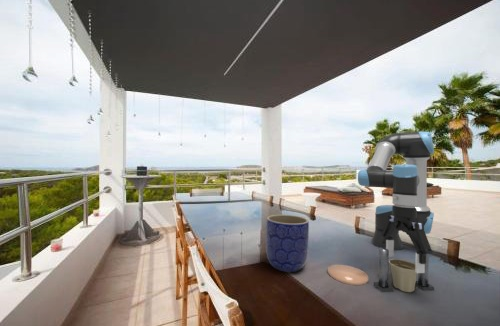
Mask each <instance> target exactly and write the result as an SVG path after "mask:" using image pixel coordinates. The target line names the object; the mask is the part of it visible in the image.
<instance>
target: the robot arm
mask: <svg viewBox="0 0 500 326" xmlns="http://www.w3.org/2000/svg"><path fill="white" fill-rule="evenodd" d="M433 143H434V142H433V137H432V133H431V132H429V131H415V132H414V131H412V132H400V133H398V132H397V133H392V134H389V135H387V136H385V137H383V138H381V139H380V140H379V141H378V142H377V144H375V148H374V154H373V156H372V158H371V160H370V161H369V165H368V166H367V168H366V169H365V168H364V169H359V170H358V173H357V183H358V184H359V186H361V187H367V188H369V187H372V188H387V189H392V199H391V200H392V204H393V205H392V204H385V205H384V204H383V205H382V204H381V205H377V206H376V207H375V212H374V213H375V214H374V216H375V218H374V219H375V222H374V223H375V225H374V226H375V227H374V229H375V230H374V233H373V235H372V238H371V244H373V246H376V247H378V248H386V249H388V250H389V258H394V256H395V255H394V252H395V251H399V250H403V243H402V239H401V237H400V231H401V232H403V233H405V234H406V235H407V236H408V237H409V239H410V240H411V242H412V244H413V246H414V247H415V250H416V251H417V252H415V259H414V260H415V261H414V262H415V263H414V264H415V272H416V273H417V274H418V273H425V264H426V255H427V254H429V255H433V253H434V252H433V250H432V247H431V245H430V242H429V240H428V237H427V236H428V235H429V234H430V233H431V231H432V227H433V224H434V223H433V222H434V216H435V214H434V212H432V211H431V208H430V207H429V206H428V205H427V199H428V196H427V195H428V193H427V189H428V187H427V182H428V181H427V180H428V179H427V175H428V171H427V170H428V169H427V168H428V166H427V165H428V164H427V161H428V160H430V158H432V157H431V155H433V154H434V153H435V149H434V144H433ZM394 155H402V157H403V159H404V160H405V161H406V164H394V165H393V167H392V170H390V169H389V170H388V165H389V163H390V160H391V158H392V157H393V156H394Z"/></svg>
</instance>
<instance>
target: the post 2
mask: <svg viewBox="0 0 500 326" xmlns="http://www.w3.org/2000/svg"><path fill="white" fill-rule="evenodd" d="M415 287H416V288H418V289H420V290H421V291H425V292H427V291H428V292H429V291H430V292H431V291H435V286H433V285H431V284H430V254H427V255H426V264H425V273H417V280H416V282H415Z"/></svg>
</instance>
